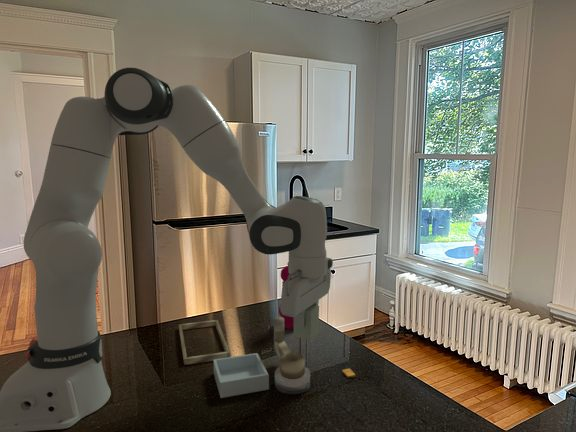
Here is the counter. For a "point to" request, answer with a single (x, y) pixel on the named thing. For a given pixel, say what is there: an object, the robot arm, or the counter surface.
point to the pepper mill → (287, 319)
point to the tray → (240, 375)
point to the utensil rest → (209, 356)
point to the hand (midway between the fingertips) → (306, 322)
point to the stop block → (308, 324)
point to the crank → (287, 353)
